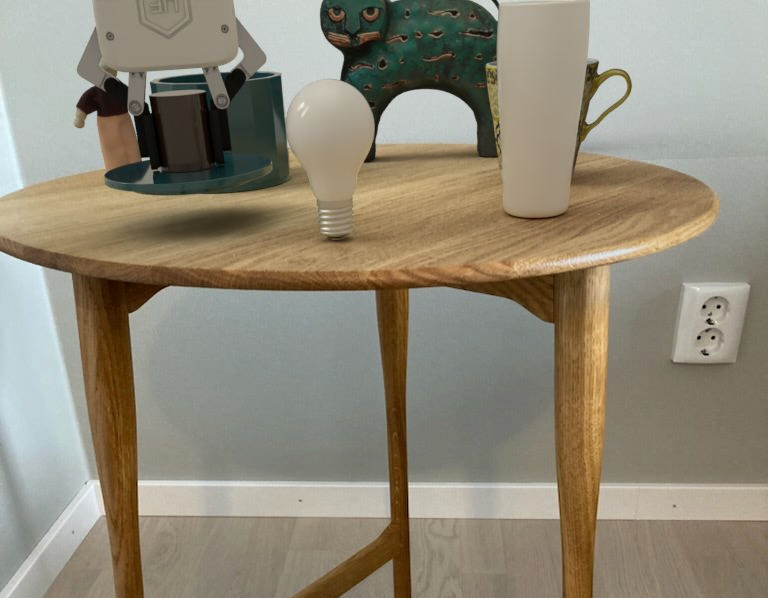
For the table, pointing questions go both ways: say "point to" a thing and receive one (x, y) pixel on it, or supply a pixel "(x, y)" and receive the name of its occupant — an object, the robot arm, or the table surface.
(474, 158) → the table surface
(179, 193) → the lid
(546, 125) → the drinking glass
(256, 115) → the tin
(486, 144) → the ceramic cat
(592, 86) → the ceramic cup
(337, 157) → the lightbulb
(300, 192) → the table surface
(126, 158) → the grandmother figurine
